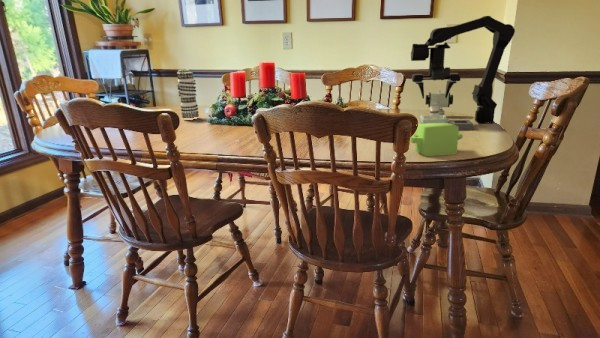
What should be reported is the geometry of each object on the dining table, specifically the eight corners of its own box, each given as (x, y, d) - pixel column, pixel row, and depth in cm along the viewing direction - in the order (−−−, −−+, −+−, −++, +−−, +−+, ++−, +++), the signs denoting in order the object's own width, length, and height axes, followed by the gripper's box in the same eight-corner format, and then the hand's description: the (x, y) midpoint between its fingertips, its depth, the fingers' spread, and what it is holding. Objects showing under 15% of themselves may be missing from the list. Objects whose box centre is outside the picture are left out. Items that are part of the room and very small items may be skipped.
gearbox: (455, 147, 141) (457, 120, 138) (470, 153, 132) (472, 124, 129) (404, 150, 139) (405, 122, 137) (416, 157, 130) (417, 127, 127)
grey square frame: (468, 125, 169) (468, 119, 168) (472, 130, 162) (473, 123, 161) (448, 126, 170) (448, 120, 169) (452, 130, 163) (452, 124, 162)
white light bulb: (437, 120, 178) (438, 102, 175) (439, 122, 174) (440, 103, 172) (428, 120, 178) (429, 102, 176) (429, 122, 175) (431, 104, 172)
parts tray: (444, 120, 180) (444, 114, 179) (447, 125, 172) (448, 119, 171) (420, 121, 182) (420, 115, 181) (422, 125, 173) (422, 119, 172)
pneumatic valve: (424, 115, 193) (426, 89, 189) (451, 115, 190) (452, 89, 186) (425, 117, 188) (426, 91, 184) (452, 118, 185) (453, 91, 181)
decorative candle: (203, 118, 211) (197, 68, 203) (187, 121, 205) (181, 70, 197) (193, 116, 217) (187, 68, 210) (178, 119, 211) (171, 69, 203)
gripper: (415, 62, 163) (413, 101, 167) (464, 60, 159) (461, 101, 164) (412, 60, 173) (411, 97, 178) (459, 59, 170) (456, 96, 175)
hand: (434, 98), depth 173 cm, fingers open, 9 cm apart
